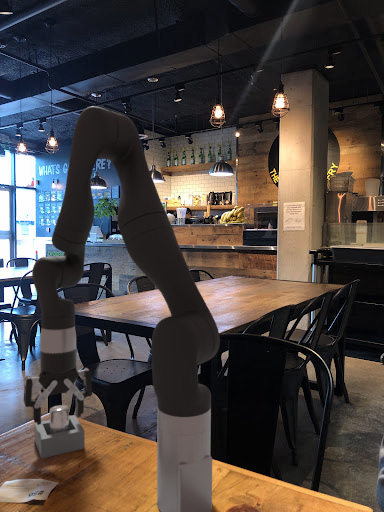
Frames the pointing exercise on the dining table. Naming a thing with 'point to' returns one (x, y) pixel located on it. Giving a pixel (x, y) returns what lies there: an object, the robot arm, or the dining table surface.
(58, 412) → the peg
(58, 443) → the box
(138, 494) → the dining table surface
